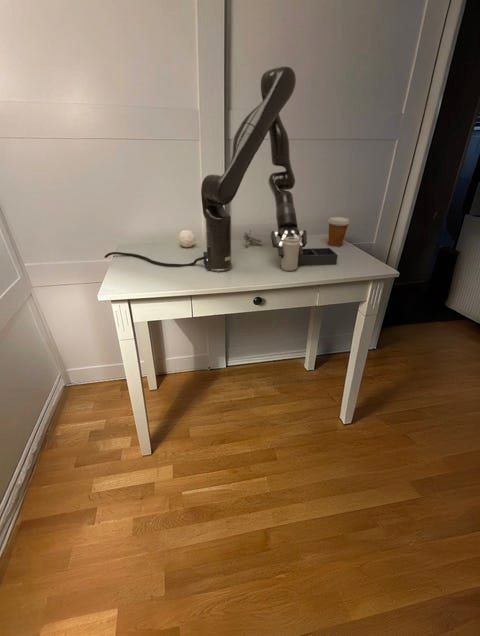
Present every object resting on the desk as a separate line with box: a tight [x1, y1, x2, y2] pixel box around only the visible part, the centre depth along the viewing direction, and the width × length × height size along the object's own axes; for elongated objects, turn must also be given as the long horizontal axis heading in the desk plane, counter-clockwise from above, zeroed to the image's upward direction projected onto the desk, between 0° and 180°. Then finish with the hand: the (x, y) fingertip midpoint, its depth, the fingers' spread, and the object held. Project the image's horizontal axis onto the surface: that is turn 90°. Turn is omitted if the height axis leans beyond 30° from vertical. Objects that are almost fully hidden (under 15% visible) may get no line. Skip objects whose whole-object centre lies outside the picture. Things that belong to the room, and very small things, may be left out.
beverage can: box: [280, 237, 300, 272], centre depth 119 cm, size 6×6×12 cm
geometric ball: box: [177, 229, 197, 248], centre depth 142 cm, size 8×8×8 cm
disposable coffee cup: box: [327, 216, 351, 247], centre depth 146 cm, size 10×10×12 cm
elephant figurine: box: [243, 228, 263, 248], centre depth 146 cm, size 10×6×9 cm
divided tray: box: [297, 247, 338, 267], centre depth 128 cm, size 17×9×4 cm, turn 97°
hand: (291, 256), depth 118 cm, fingers closed on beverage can, 6 cm apart
